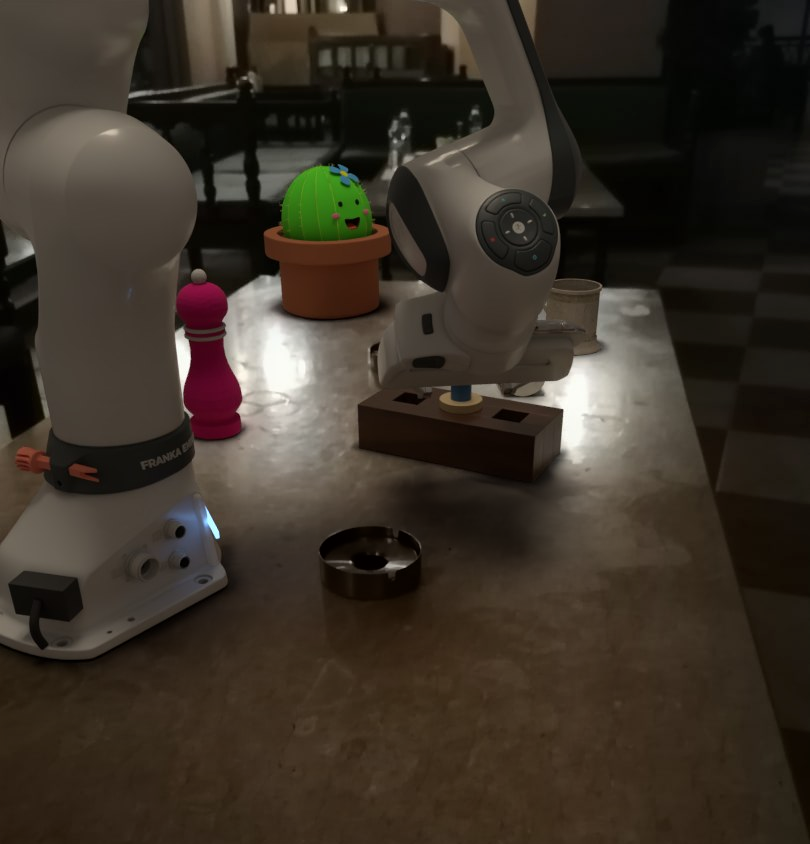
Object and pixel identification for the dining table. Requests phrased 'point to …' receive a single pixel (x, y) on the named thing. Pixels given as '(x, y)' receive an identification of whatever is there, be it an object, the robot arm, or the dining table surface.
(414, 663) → the dining table surface
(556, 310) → the mug
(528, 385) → the roll
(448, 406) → the peg
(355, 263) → the potted cactus
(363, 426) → the stand
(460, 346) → the robot arm
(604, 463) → the dining table surface
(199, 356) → the pepper mill
